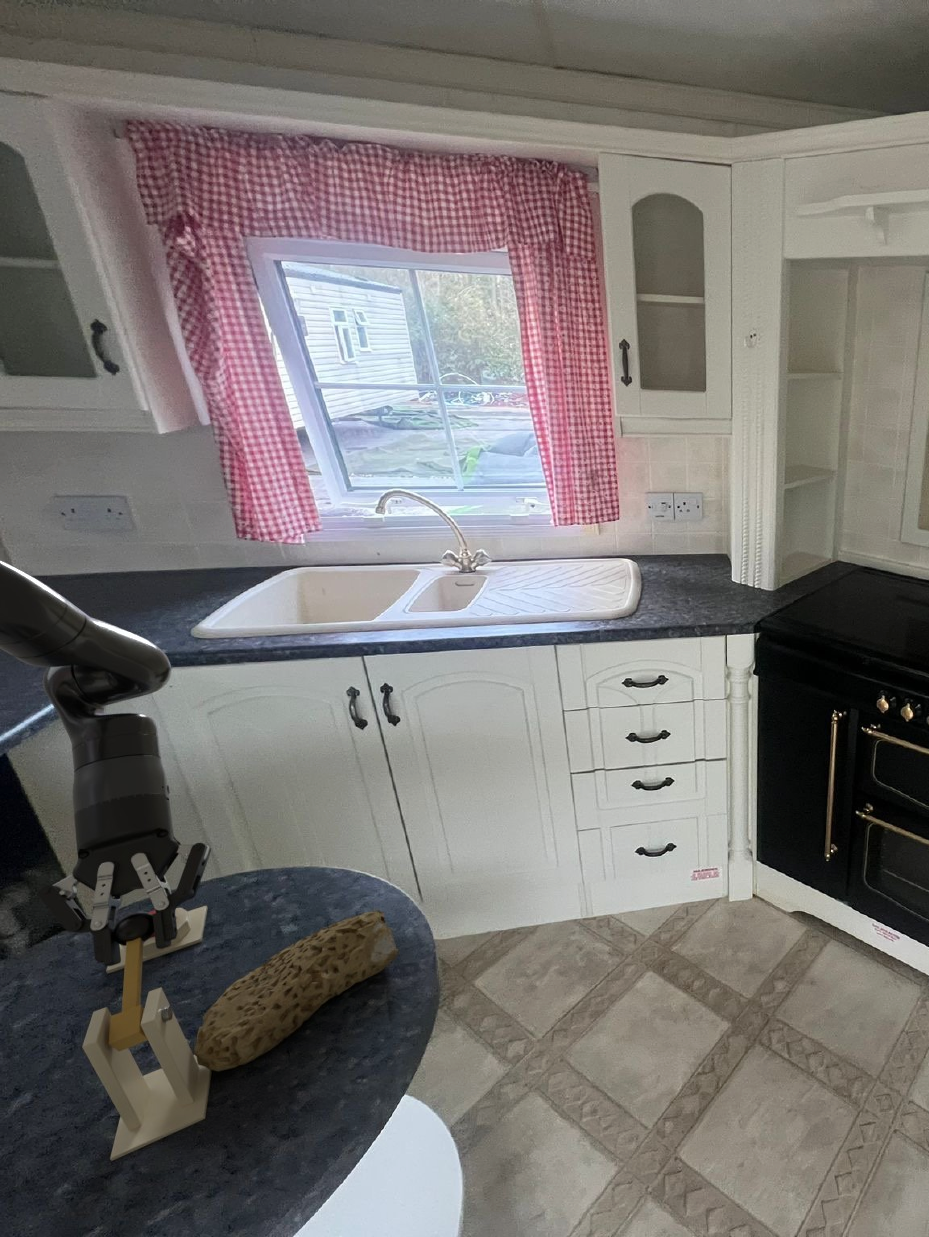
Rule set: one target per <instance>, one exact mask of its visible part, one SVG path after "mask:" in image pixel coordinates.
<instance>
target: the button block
mask: <svg viewBox="0 0 929 1237" xmlns="http://www.w3.org/2000/svg"><path fill="white" fill-rule="evenodd" d="M208 908H209V907H208V905H203V906H200V907H198V908H193V909H191V910H186V909H184V908H183V907H177V908H176V910H175V915H176V923H177V931H178V934H177V937H176V939H173V940H171V946H169V947H166V948H163V949H158V948H157V947H156V943H155V937H152V938H149V939H148V940H146V941H145V942H144V944H143V962H146V961H149V960H152V959H156V958H158V957H160V956H164V955H167V954H169V953H172V952H176V951H178V950H181V949H185V948H187V947H191V946H193V945H196V944H198V943H201V942H202V941H203V936H204V931H205V926H206V920H207V914H208ZM120 955H121V962H120V963H118V964H115V965H113V966H106V970H105V971H106V974H107V975H108V974H112V973H114V972H117V971H121V970H123V969H125V956H126V946H123V945H120Z"/></svg>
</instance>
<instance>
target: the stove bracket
mask: <svg viewBox="0 0 929 1237" xmlns="http://www.w3.org/2000/svg"><path fill="white" fill-rule="evenodd" d="M144 1008H145V1009H144V1013H143V1017H142V1021H141V1027H142V1029H143V1031H144V1033H145V1035H146V1037H147V1039H148V1040H147V1041H148V1043H149V1045H150V1047H151V1049H152V1051H153V1054H154V1055H155V1058H156V1060H157V1061H158V1063H159V1065H160V1067H161V1068H159V1069H156V1070H154V1071H152V1072H149V1073H146V1074H145V1075H143V1074H142V1072H141V1070H140V1067H139V1066H138V1064H137V1062H136V1060H135V1058H134V1056H133V1054H132V1052H131V1051H130V1047H129V1048H127V1049H124V1050H122V1051H119V1052H118V1051H117V1050H116V1049H115V1048H113V1047H112V1046H111V1045H110V1044H109V1033H110V1020H111V1016H112V1014H111V1011H110V1010H109V1008H108V1006H106V1007H103V1008H101V1009H100V1008H99V1009H98V1010H97V1009H96V1010H94V1011H93V1012H92V1015H91V1018H90V1022H89V1024H88V1028H87V1031H86V1034H85V1037H84V1040H83V1043H82V1047H81V1048H82V1049H83V1051H84V1053H85V1055H86V1056H87V1058H88V1060H89V1062H90V1064H91V1066H92V1067H93V1069H94V1071H95V1073H96V1075H97V1077H98V1078H99V1081H100V1082H101V1084H102V1085H103V1087H104V1088H105V1091H106V1093H107V1094H108V1096H109V1098H110V1100H111V1102H112V1103H113V1105H114V1107H115V1109H116V1110H117V1113H118V1114H119V1116H120V1117H119V1119H118V1120H119V1121H118V1125H117V1128H116V1133H115V1138H114V1141H113V1145H112V1150H111V1154H110V1156H109V1160H110V1161H111V1162H114V1161H116V1160H117V1159H120V1158H122V1157H123V1156H126V1155H128V1154H130V1153H132V1152H135V1151H137V1150H139V1149H141V1148H143V1147H146V1146H148V1145H150V1144H153V1143H154V1142H157V1141H159V1140H162V1139H163V1138H165V1137H167V1136H170V1135H172V1134H174V1133H177V1132H178V1131H182V1130H183V1129H185V1128H188V1127H190V1126H192V1125H194V1124H197V1123H198V1122H200V1121H203V1120H205V1119H206V1116H207V1110H208V1102H209V1095H210V1094H209V1093H210V1086H211V1079H212V1071H213V1070H210V1069H208V1068H206V1067H205V1066H201V1065H198V1062H197V1057H196V1056H195V1054H194V1053H193V1051H192V1049H191V1047H190V1045H189V1043H188V1041H187V1038H186V1037H185V1034H184V1033H183V1030H182V1027H181V1026H180V1024H179V1021H178V1019H177V1017H176V1015H175V1013H174V1011H173V1008H172V1006H171V1005H170V1002H169V1000H168V998H167V996H166V994H165V991H164V989H163V987H158V988H155V989H153V990H149V991H148V993H147V997H146V1001H145V1005H144Z"/></svg>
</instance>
